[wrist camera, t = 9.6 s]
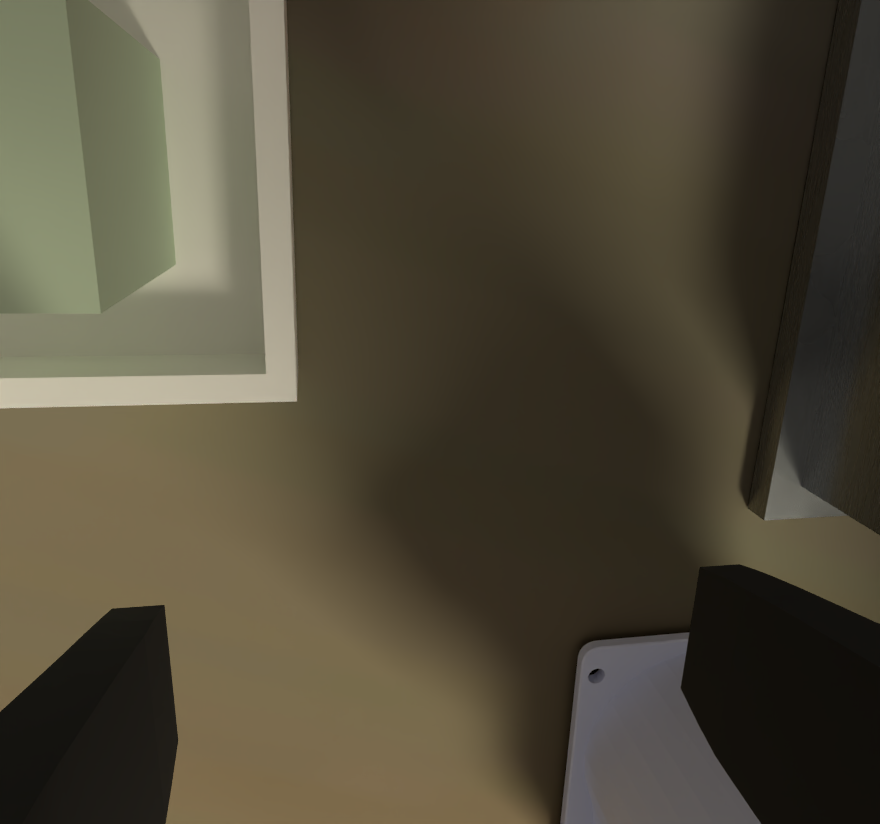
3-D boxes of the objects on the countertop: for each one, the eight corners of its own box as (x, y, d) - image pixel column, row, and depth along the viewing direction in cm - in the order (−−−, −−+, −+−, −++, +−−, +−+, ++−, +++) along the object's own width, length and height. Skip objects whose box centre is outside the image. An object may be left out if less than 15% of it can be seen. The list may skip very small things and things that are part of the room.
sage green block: (175, 264, 15) (100, 313, 10) (-30, 261, 15) (-239, 312, 9) (159, 59, 14) (62, -21, 8) (-65, 45, 13) (-334, -52, 8)
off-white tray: (298, 368, 17) (297, 401, 15) (-113, 374, 16) (-196, 412, 13) (284, -54, 15) (280, -104, 12) (-215, -99, 13) (-345, -168, 10)
